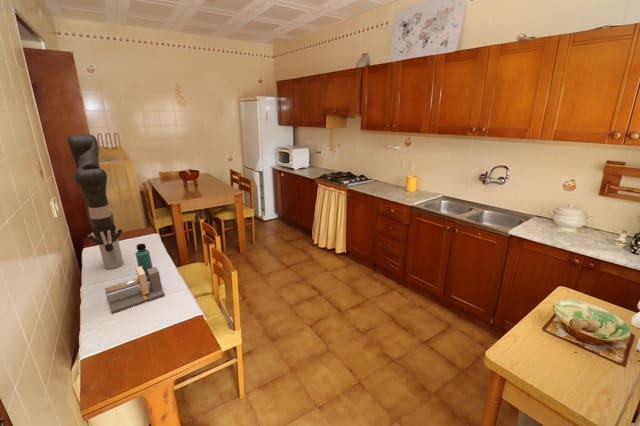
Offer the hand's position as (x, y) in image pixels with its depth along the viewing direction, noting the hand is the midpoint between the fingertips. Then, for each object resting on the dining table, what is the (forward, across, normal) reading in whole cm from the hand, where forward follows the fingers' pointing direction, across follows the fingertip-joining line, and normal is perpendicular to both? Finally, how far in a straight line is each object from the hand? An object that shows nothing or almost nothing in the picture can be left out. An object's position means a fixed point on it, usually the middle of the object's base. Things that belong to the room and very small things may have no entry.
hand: (109, 251), depth 136 cm
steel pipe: (+19, -4, +3) cm, 20 cm away
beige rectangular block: (+23, -10, +3) cm, 25 cm away
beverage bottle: (+26, -14, -12) cm, 32 cm away
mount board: (+26, -5, +3) cm, 26 cm away
